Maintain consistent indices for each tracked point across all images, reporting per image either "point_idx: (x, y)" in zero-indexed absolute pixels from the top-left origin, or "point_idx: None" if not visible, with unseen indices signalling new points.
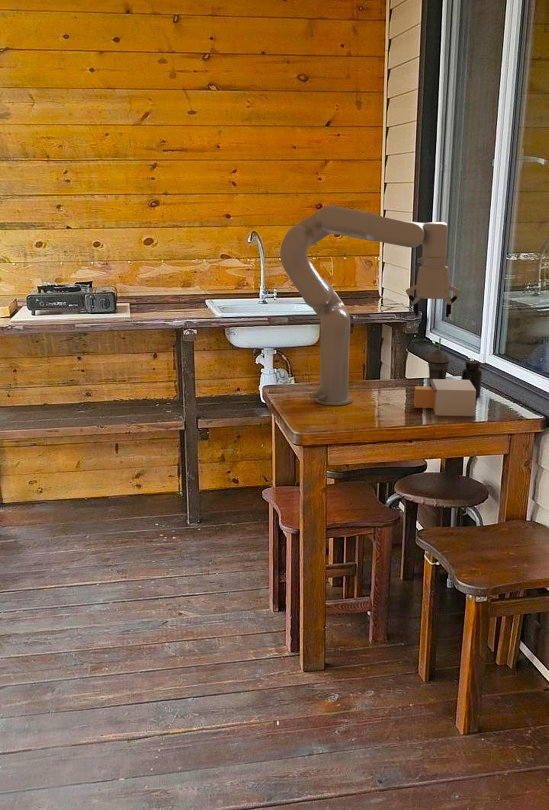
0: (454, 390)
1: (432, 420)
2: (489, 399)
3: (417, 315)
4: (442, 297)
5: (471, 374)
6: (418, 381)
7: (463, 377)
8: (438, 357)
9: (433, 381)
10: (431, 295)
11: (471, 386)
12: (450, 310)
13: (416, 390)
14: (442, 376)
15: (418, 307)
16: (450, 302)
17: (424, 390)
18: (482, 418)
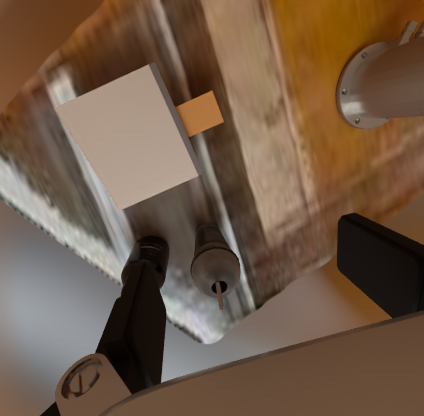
0: (106, 84)
1: (147, 32)
2: (112, 244)
3: (341, 217)
4: (144, 406)
5: (136, 260)
6: (258, 289)
7: (157, 257)
8: (211, 259)
9: (187, 153)
10: (383, 384)
11: (85, 147)
12: (111, 315)
13: (210, 91)
14: (198, 243)
15: (382, 276)
16: (73, 384)
17: (192, 99)
18: None
